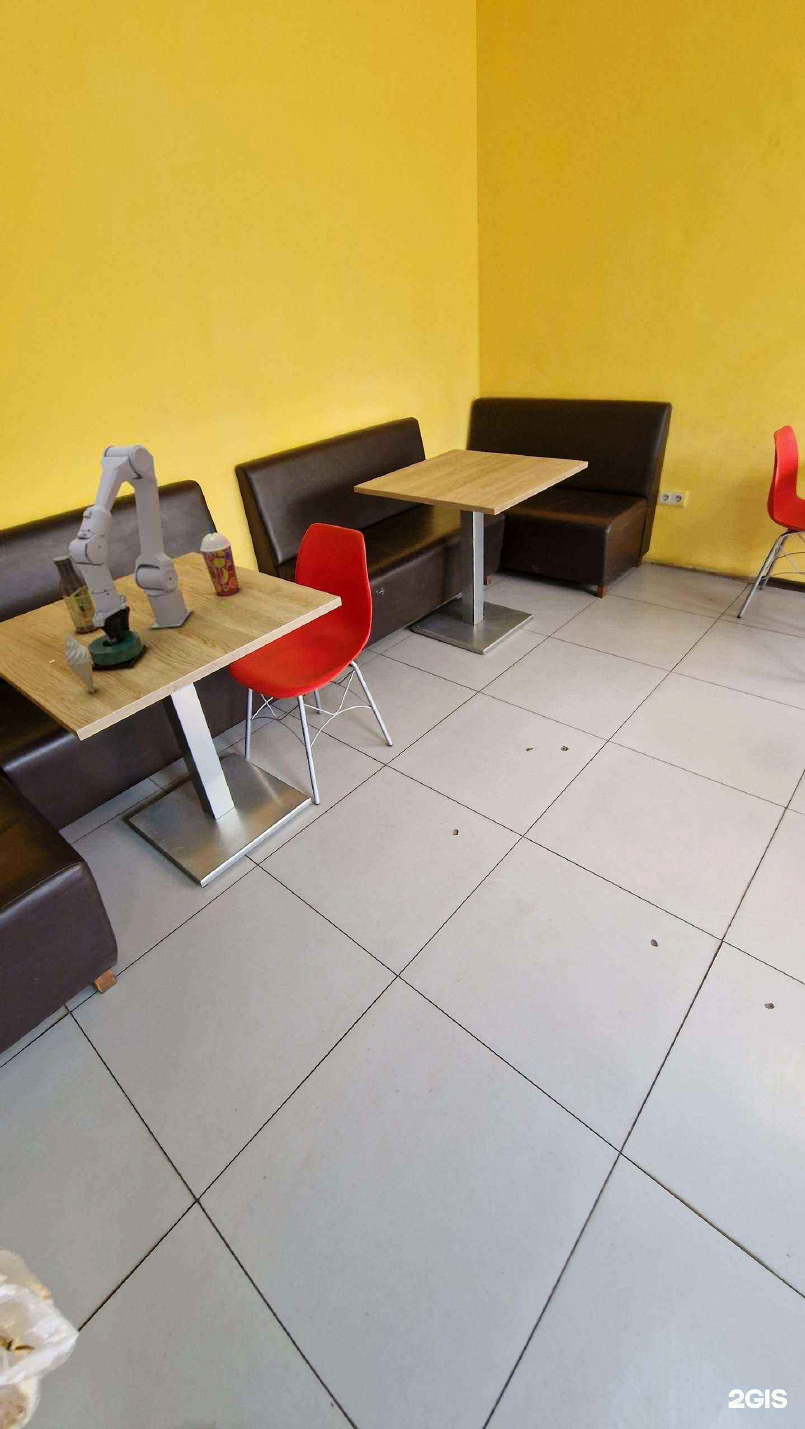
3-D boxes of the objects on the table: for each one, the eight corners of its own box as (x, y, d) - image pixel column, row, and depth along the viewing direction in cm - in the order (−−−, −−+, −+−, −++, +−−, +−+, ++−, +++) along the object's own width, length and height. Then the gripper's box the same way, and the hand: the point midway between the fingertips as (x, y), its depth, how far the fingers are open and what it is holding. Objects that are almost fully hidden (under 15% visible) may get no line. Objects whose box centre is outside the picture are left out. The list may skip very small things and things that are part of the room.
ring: (105, 643, 158) (100, 632, 156) (149, 640, 157) (145, 628, 155) (84, 666, 149) (79, 654, 147) (131, 663, 148) (126, 651, 146)
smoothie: (212, 589, 186) (193, 522, 175) (240, 583, 188) (223, 516, 177) (214, 599, 180) (194, 530, 168) (243, 593, 181) (225, 524, 170)
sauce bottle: (92, 633, 168) (62, 562, 157) (72, 633, 170) (41, 563, 159) (106, 623, 174) (78, 553, 163) (87, 623, 175) (58, 554, 164)
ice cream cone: (97, 683, 144) (72, 624, 136) (109, 689, 141) (83, 629, 133) (77, 694, 141) (49, 633, 133) (88, 700, 138) (60, 639, 130)
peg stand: (108, 651, 158) (100, 631, 155) (147, 648, 157) (139, 627, 154) (91, 671, 150) (82, 650, 147) (131, 667, 149) (123, 647, 146)
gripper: (105, 599, 142) (126, 653, 149) (130, 575, 154) (148, 626, 161) (75, 602, 142) (98, 655, 150) (103, 578, 154) (122, 628, 162)
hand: (122, 640), depth 155 cm, fingers closed on ring, 3 cm apart
